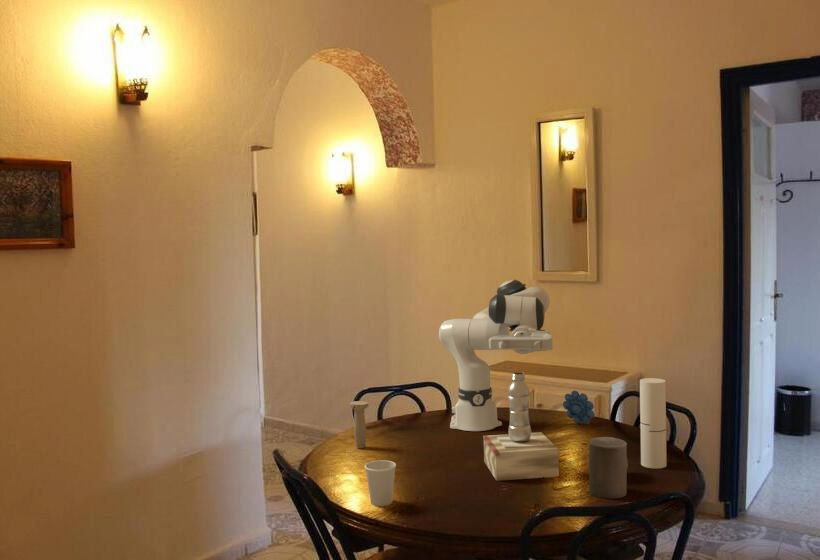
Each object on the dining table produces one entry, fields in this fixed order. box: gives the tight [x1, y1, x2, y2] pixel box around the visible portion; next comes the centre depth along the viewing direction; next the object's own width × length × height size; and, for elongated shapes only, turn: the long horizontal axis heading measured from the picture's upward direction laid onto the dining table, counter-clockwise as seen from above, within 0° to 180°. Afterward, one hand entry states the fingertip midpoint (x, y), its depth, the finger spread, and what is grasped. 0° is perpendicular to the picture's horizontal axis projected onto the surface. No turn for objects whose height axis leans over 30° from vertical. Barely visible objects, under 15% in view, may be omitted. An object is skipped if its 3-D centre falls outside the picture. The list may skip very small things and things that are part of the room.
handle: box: [349, 400, 369, 449], centre depth 250 cm, size 5×6×15 cm
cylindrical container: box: [639, 377, 667, 469], centre depth 221 cm, size 7×7×25 cm
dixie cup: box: [363, 459, 397, 507], centre depth 199 cm, size 8×8×10 cm
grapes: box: [562, 390, 596, 425], centre depth 270 cm, size 12×7×12 cm, turn 58°
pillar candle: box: [588, 436, 628, 500], centre depth 200 cm, size 10×10×15 cm
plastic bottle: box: [506, 371, 532, 442], centre depth 222 cm, size 6×7×20 cm
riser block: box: [482, 431, 560, 481], centre depth 222 cm, size 18×18×8 cm
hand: (518, 346), depth 235 cm, fingers open, 8 cm apart
